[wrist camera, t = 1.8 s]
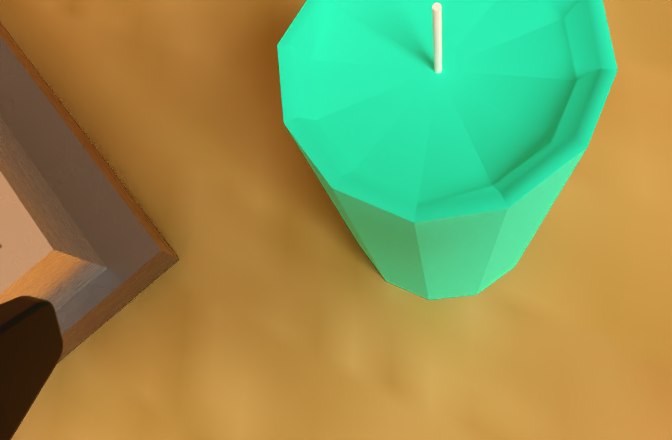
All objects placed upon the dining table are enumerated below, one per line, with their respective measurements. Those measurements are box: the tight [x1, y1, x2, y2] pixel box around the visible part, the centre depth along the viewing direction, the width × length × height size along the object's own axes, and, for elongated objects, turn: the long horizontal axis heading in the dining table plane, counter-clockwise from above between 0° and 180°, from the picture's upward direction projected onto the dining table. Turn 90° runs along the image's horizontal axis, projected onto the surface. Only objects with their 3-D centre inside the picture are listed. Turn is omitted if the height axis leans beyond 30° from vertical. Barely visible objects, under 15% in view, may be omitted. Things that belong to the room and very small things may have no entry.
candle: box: [277, 0, 617, 300], centre depth 15 cm, size 6×6×12 cm
